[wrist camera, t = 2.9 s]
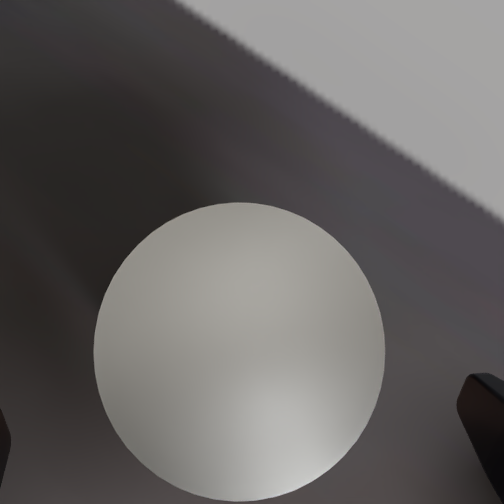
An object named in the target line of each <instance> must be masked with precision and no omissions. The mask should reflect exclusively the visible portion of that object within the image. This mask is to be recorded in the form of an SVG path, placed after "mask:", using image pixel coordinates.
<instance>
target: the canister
mask: <svg viewBox="0 0 504 504" xmlns="http://www.w3.org/2000/svg"><path fill="white" fill-rule="evenodd" d="M93 353H94V367H95V376H96V381H97V386H98V390H99V394H100V397H101V400H102V403H103V406H104V409H105V411H106V414H107V416H108V418H109V420H110V422H111V423H112V425H113V427H114V429H115V431H116V433H117V434H118V435H119V437H120V438H121V440H122V441H123V443H124V444H125V445H126V447H127V448H128V449H129V450H130V451H131V452H132V453H133V455H134V456H135V457H136V458H137V459H138V460H139V461H140V462H141V463H142V464H143V465H145V466H146V467H147V468H148V469H150V470H151V471H152V472H153V473H155V474H156V475H157V476H158V477H160V478H162V479H164V480H165V481H167V482H169V483H170V484H172V485H174V486H175V487H178V488H180V489H183V490H185V491H188V492H190V493H192V494H195V495H199V496H203V497H207V498H211V499H215V500H225V501H256V500H261V499H267V498H272V497H276V496H279V495H282V494H285V493H288V492H291V491H294V490H296V489H298V488H300V487H302V486H304V485H306V484H308V483H310V482H312V481H314V480H315V479H316V478H318V477H319V476H321V475H322V474H324V473H325V472H327V471H328V470H329V469H330V468H332V467H333V466H334V465H335V464H336V463H337V462H338V461H339V460H340V459H341V458H342V457H343V456H344V455H345V454H346V453H347V452H348V451H349V449H350V448H351V447H352V446H353V445H354V443H355V442H356V441H357V439H358V438H359V436H360V434H361V433H362V431H363V430H364V428H365V427H366V425H367V423H368V421H369V419H370V416H371V414H372V412H373V410H374V408H375V405H376V402H377V399H378V396H379V392H380V389H381V384H382V379H383V373H384V363H385V341H384V330H383V325H382V319H381V314H380V311H379V308H378V305H377V302H376V299H375V296H374V294H373V291H372V289H371V287H370V285H369V283H368V281H367V279H366V277H365V275H364V274H363V272H362V271H361V269H360V267H359V266H358V264H357V263H356V262H355V260H354V259H353V258H352V257H351V255H350V254H349V253H348V252H347V250H346V249H345V248H344V247H343V246H342V245H340V244H339V243H338V242H337V241H336V240H335V239H334V238H333V237H332V236H331V235H329V234H328V233H327V232H325V231H324V230H323V229H321V228H320V227H319V226H317V225H315V224H314V223H312V222H310V221H308V220H307V219H305V218H303V217H301V216H298V215H296V214H294V213H291V212H289V211H286V210H283V209H280V208H276V207H273V206H268V205H262V204H255V203H225V204H216V205H212V206H207V207H203V208H199V209H196V210H193V211H191V212H188V213H185V214H182V215H180V216H178V217H176V218H175V219H173V220H171V221H169V222H167V223H165V224H164V225H162V226H161V227H159V228H158V229H156V230H155V231H153V232H152V233H151V234H150V235H148V236H147V237H146V238H145V239H144V240H143V241H142V242H141V243H139V244H138V245H137V246H136V247H135V249H134V250H133V251H132V252H131V253H130V254H129V255H128V257H127V258H126V259H125V260H124V262H123V263H122V265H121V266H120V268H119V269H118V271H117V272H116V274H115V275H114V277H113V279H112V281H111V283H110V285H109V287H108V289H107V291H106V293H105V296H104V298H103V301H102V304H101V307H100V310H99V314H98V319H97V324H96V329H95V337H94V352H93Z"/></svg>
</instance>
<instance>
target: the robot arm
mask: <svg viewBox="0 0 504 504" xmlns="http://www.w3.org/2000/svg"><path fill="white" fill-rule="evenodd" d="M457 411H458V414H459V417H460V419H461V421H462V423H463V425H464V428H465V430H466V432H467V434H468V436H469V439H470V441H471V443H472V445H473V447H474V449H475V452H476V454H477V456H478V458H479V460H480V463H481V465H482V467H483V469H484V471H485V473H486V475H487V477H488V479H489V481H490V482H491V484H492V486H493V488H494V490H495V491H496V493H497V495H498V497H499V498H500V500H501V502H502V503H503V504H504V381H503V380H501V379H499V378H497V377H495V376H494V375H492V374H489V373H476V374H470V375H469V376H467V378H466V380H465V382H464V385H463V387H462V389H461V391H460V394H459V396H458V399H457ZM10 446H11V436H10V432H9V429H8V426H7V424H6V421H5V418H4V416H3V413H2V410H1V409H0V487H1V483H2V479H3V475H4V471H5V467H6V463H7V459H8V455H9V452H10Z"/></svg>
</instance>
